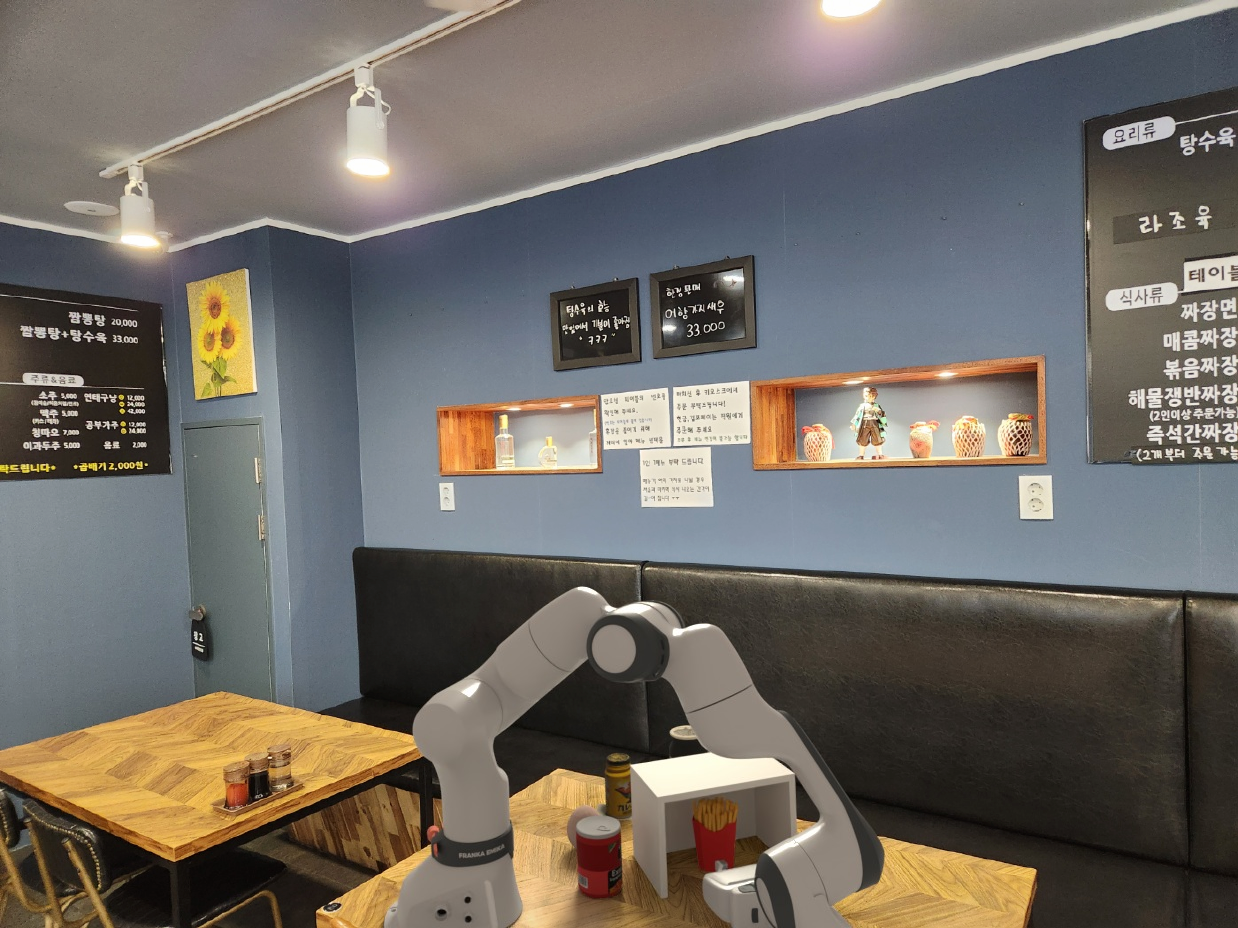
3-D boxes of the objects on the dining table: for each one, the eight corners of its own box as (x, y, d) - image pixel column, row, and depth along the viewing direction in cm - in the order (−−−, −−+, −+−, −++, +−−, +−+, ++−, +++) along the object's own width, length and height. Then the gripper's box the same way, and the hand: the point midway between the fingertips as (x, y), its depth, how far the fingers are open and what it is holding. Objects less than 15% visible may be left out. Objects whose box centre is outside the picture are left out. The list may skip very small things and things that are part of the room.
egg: (612, 849, 145) (610, 805, 146) (583, 862, 141) (581, 818, 141) (588, 836, 151) (587, 794, 151) (560, 849, 146) (558, 806, 146)
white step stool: (661, 898, 128) (657, 796, 128) (633, 855, 143) (630, 764, 143) (798, 868, 136) (794, 773, 136) (758, 831, 150) (755, 745, 150)
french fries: (693, 870, 137) (690, 804, 137) (695, 859, 140) (693, 794, 141) (740, 874, 135) (737, 806, 135) (741, 862, 139) (739, 797, 139)
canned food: (618, 901, 128) (615, 836, 128) (572, 898, 129) (570, 833, 129) (626, 877, 135) (624, 816, 135) (583, 874, 137) (581, 813, 137)
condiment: (635, 820, 157) (633, 762, 157) (595, 820, 158) (592, 763, 158) (636, 804, 165) (634, 749, 165) (597, 805, 165) (595, 750, 165)
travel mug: (711, 826, 153) (707, 737, 154) (671, 826, 154) (668, 738, 154) (708, 808, 161) (705, 724, 162) (671, 808, 162) (668, 725, 162)
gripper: (845, 869, 116) (798, 829, 129) (724, 895, 110) (688, 851, 123) (847, 910, 116) (800, 866, 129) (726, 938, 110) (690, 889, 123)
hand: (744, 859), depth 126 cm, fingers open, 8 cm apart
